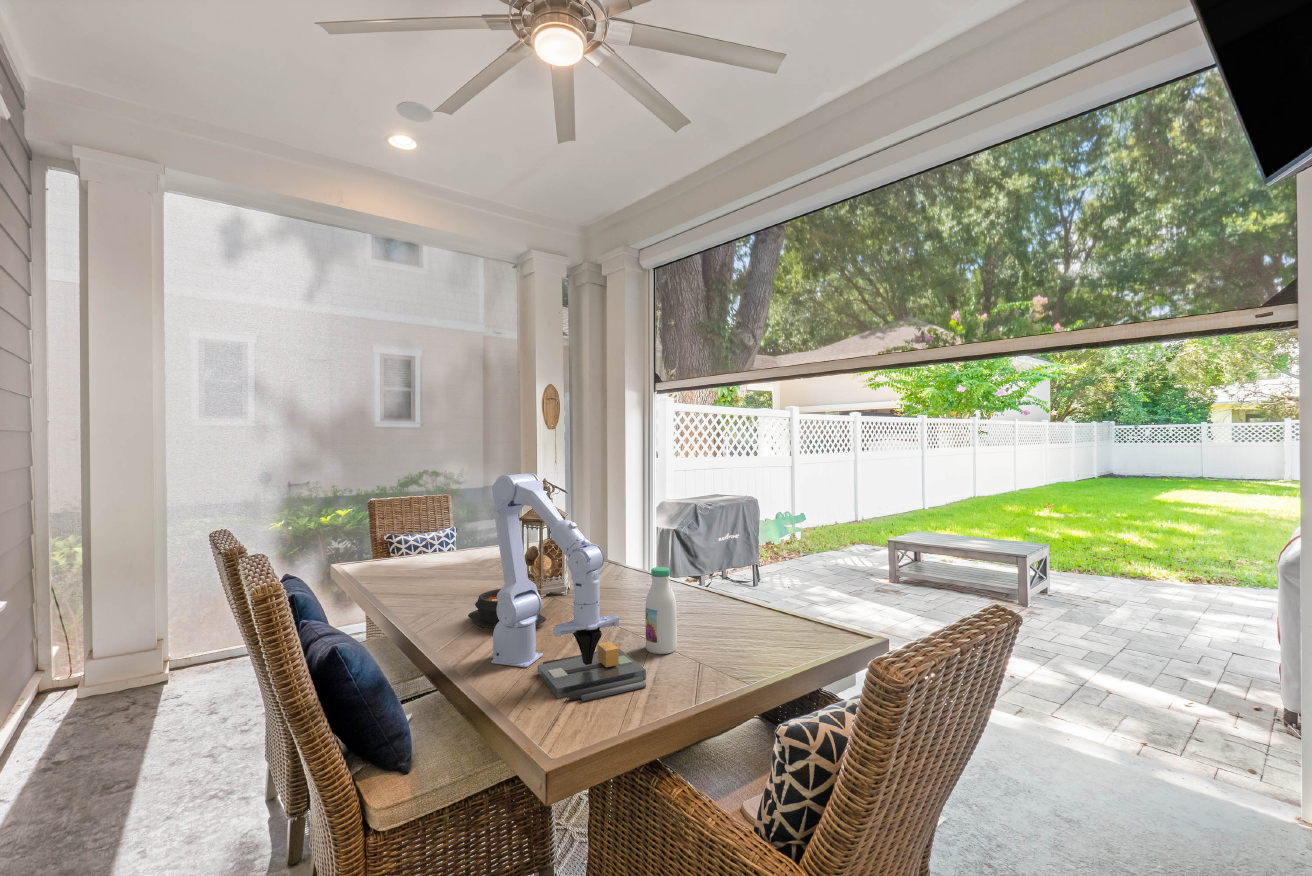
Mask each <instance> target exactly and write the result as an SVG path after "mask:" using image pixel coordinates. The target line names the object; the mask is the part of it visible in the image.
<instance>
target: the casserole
mask: <svg viewBox="0 0 1312 876" xmlns="http://www.w3.org/2000/svg"><path fill="white" fill-rule="evenodd" d="M500 590H501V588H497V589H492V590H488V591H485V592H483V593H481V594H480V595H478V598H477V601H476V602H475V603H474V605H475V607H476V608H477V609H475V610H473V611H471V612H470V613H468V615H467V617H468V618H469V619H471V621H472V623H473V624H474V625H475V626H478V627H481V628H486V629H490V630H494V629H495V626H496V625H497V623H498V622H500V620H499V619H498V616H497V604H498V599H497V594H498V592H499V591H500ZM519 594H521V593H519ZM517 595H518V594H517ZM546 621H547V617H545V616H543V615H542V614H541V612H540V613H539V614H538V615H537V620H535V627H536V626H539V625H541V624H543V623H545V622H546Z"/></svg>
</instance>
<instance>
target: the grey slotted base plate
mask: <svg viewBox="0 0 1312 876" xmlns="http://www.w3.org/2000/svg"><path fill="white" fill-rule="evenodd" d="M594 654H597V651H595V652H594ZM577 657H582V655H581V654H578V655H572V656H567V657H563V658H562V657H561V658H557V659H552V660H547V661H543V662H542V664H546V663H551V662H556V661H561V660H566V659H572V658H577ZM646 687H647V683H646V681H645V680H644V679H643V678H642V677H636V678H632V679H627V680H622V681H618V682H613V683H609V684H604V685H600V686H595V687H591V688H586V689H581V690H577V691H572V692H569V693H568V696H567V697H568V700H569V701H570V702H571V701H576V700H579V699H580V701H581V702H582V703H583V702H587V701H591V700H595V699H601V698H604V697H608V696H613V695H618V694H621V693H626V692H630V691H634V690H639V689H644V688H646Z"/></svg>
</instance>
